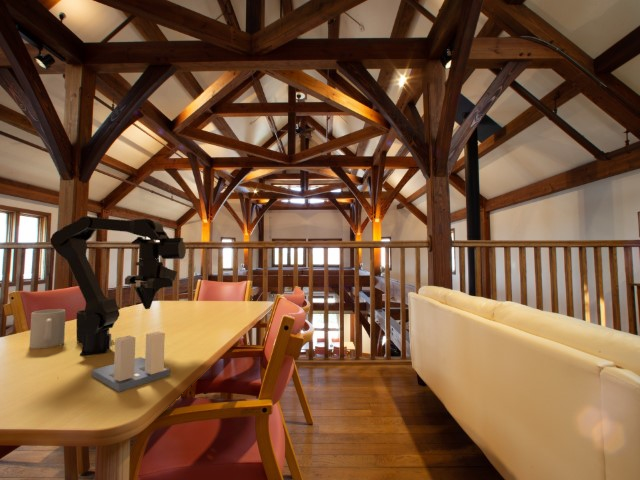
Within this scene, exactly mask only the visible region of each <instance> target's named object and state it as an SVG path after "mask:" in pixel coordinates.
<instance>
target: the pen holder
mask: <svg viewBox="0 0 640 480" xmlns="http://www.w3.org/2000/svg"><path fill="white" fill-rule="evenodd" d="M85 320H86V317H85V309H80V310H78V311H76V328H77V327H78V326H79V325H80V324H81V323H83V322H84V321H85ZM76 342H78V343H80V344H82V335H79V334H78V331H77V330H76Z"/></svg>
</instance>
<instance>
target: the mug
mask: <svg viewBox="0 0 640 480" xmlns="http://www.w3.org/2000/svg"><path fill="white" fill-rule="evenodd" d="M65 328H66V310H65V309H64V308H51V309H42V310H35V311H33V312H31V314H30V331H29V349H32V348H33V350H38V349H39V350H40V348H43V349H48V348H49V347H50V348H54V346H55V347H58V346H61V345H63V344H64V343H65V339H66V338H65V336H66V335H65V331H66V329H65Z"/></svg>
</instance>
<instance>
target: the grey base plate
mask: <svg viewBox="0 0 640 480" xmlns="http://www.w3.org/2000/svg"><path fill="white" fill-rule="evenodd" d="M169 376H171V369H170V368H169V367H166V366H164V371H161V372H158V373H155V374H149V373H147V372H145V357H141V356H140V357H137V358H136V357H135V365H134V377H133V378H129V379H126V380H123V381H118V380H116V379H114V363H113V364H109V365H106V366H101V367H97V368H94V369H91V377H92V378H94V379H96V380H97V381H99V382H100V383H102V384H104V385H106V386H108V387H109V388H111V389H113V390H114V391H116V392H117V393H120V392H123V391H124V392H125V391H127V390H130V389H134V388H135V387H138V386H142V385H145V384H149V383H150V382H154V381H157V380H160V379H163V378H165V377H169Z"/></svg>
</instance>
